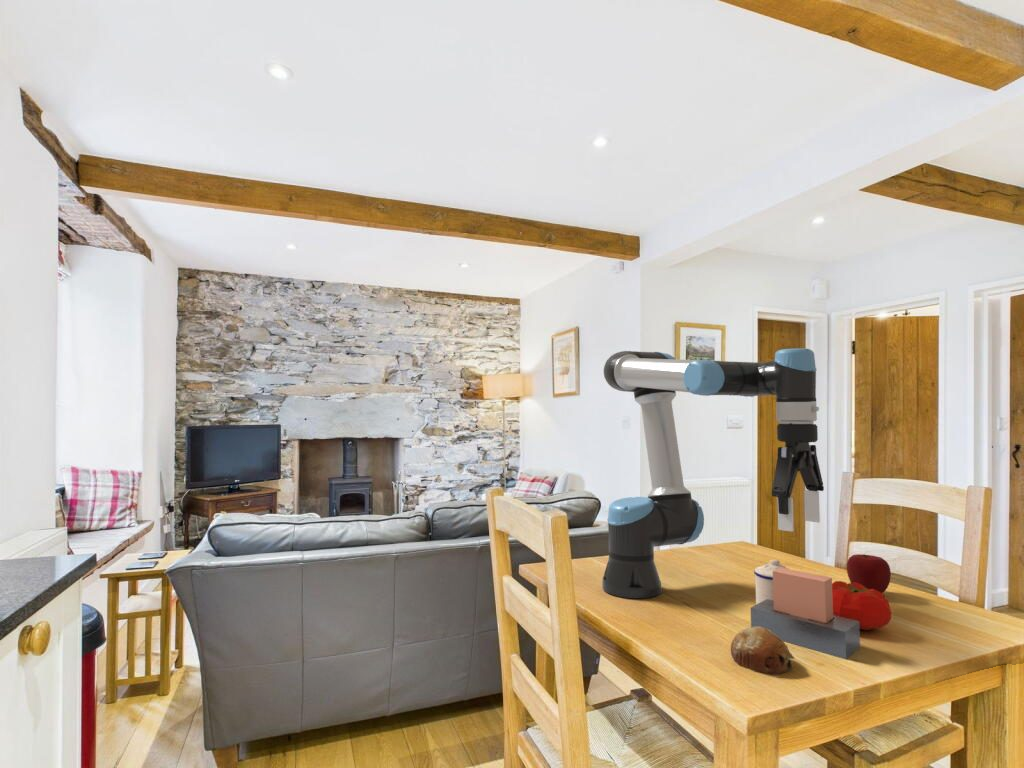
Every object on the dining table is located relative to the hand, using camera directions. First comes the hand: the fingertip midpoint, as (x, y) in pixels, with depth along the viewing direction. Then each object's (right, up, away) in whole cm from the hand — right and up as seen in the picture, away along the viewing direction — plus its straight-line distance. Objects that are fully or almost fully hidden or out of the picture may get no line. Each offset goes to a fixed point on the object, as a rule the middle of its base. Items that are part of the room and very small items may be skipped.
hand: (799, 526), depth 115 cm
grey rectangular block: (0, -23, -2) cm, 23 cm away
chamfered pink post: (0, -21, -2) cm, 21 cm away
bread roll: (-13, -23, -12) cm, 29 cm away
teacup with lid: (+3, -24, +16) cm, 29 cm away
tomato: (+15, -23, +5) cm, 28 cm away
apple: (+32, -24, +27) cm, 48 cm away
